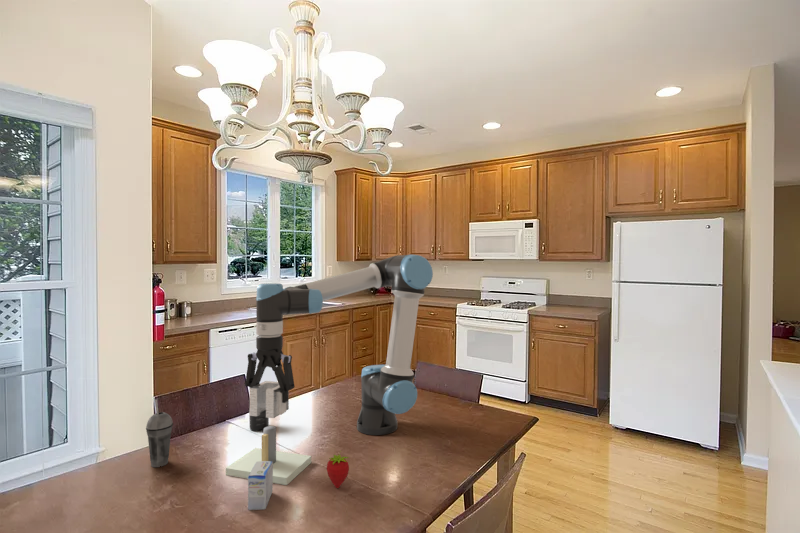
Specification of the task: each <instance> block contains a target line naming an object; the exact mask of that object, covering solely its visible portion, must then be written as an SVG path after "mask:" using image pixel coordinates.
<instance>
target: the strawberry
mask: <svg viewBox="0 0 800 533" xmlns="http://www.w3.org/2000/svg"><path fill="white" fill-rule="evenodd" d="M341 452H342V450H340V451H339V453H338V455H336V454H333V457H329V460H328V462H327V464H326V471H327V475H328V478H329V480H330V481H331V483H332V485H334V487H335V489H338V488H341V486H342V484H344V482H345V480H346V478H348V475H349V471H350V465H349V464H350V463H349V462H348V460H346V459H349V458H350V457H349V456H341V454H340V453H341Z"/></svg>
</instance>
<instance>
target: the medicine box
mask: <svg viewBox="0 0 800 533" xmlns="http://www.w3.org/2000/svg"><path fill="white" fill-rule="evenodd" d="M273 485H274V483H273V462H272V461H259V462H256V463H255V465H254V467H253V469H252V471H251V473H250V474H249V476H248V479H247V487H248V488H247V492H248V493H247V509H248V511H258V510H259V511H260V510H262V511H263V510H266V509H267V506H268V504H269V501H270V498H271V496H272V493H273Z"/></svg>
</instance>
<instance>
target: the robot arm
mask: <svg viewBox="0 0 800 533" xmlns="http://www.w3.org/2000/svg"><path fill="white" fill-rule="evenodd" d="M433 274H434V273H433V267H432V265H431V263H430V261H428V259H427V258H426V257H424V256H422V255H419V254H412V253H410V254H403V255H402V254H401V255H400V254H398V255H393V256H390V257H388V258H384V259H382V260H379V261H375V262H373V263H372V262H371V263H370V264H369V266H367V267H364V268H359V269H356V270H352V271H349V272H344V273H341V274H337V275H334V276H330V277H327V278H326V277H324V278H323V279H317V280H315V281H311V282H306V283H304V284H299V285H295V286H287V287H285V288H283V287H284V286H283V284H282V283H261V284H258V286H257V287H256V296H255V297H256V299H255V301H256V302H255V304H256V305H255V307H256V314H255V315H256V335H257V337H256V342H255V346H256V349H257V350H256V352H252V353H251V352H250V353H248V354H247V361H248V363H247V370H246V376H245V381H244V385H245V387H248V388H249V389H250V388H251V387H253V386H255V385H258V384H260V383H261V380H262V378H263V375H264V374H265V373H264V372H265V370H266V368H271V369H272V371H273V373H274V376H275V377H276V380H277V381H276V382H278V383H279V386H280V389H281V391H280V392H279V415H278V416H280V415H283V414H285V413H286V412H287V411H286V402H288V391H289V392H290V390H293V389H294V388H295V381H294V374H293V367H292V358H293V357H292V355H291V354H289V355H286V354H284V353H283V345H284V344H283V343H284V338H283V336H282V334H283V333H284V331H283V330H284V327H283V326H284V315H285V316H286V315H301V314H304V315H305V314H309V315H311V314H316V313H320V312H321V311H322V308H323V306H324V304H323V303H324V302H325V301H329V300H332V299H336V298H339V297H343V296H347V295H350V294H353V293H358V292H361V291H364V290H368V289H371V288H374V289H381V288H386V287H387V288H388V287H391V293H392V295H394V300H393V306H392V308H393V309H392V315H391V316H392V317H391V323H390V331H389V336H388V337H389V338H388V345H387V354H386V361H385V364H371V365H367V366H364V367H363V368H362V369H361V375H360V376H361V377H360V378H361V379H360V382H361V383H360V384H361V408H360V411H359V414H358V417H357V421H356V429H357V431H358V432H359V433H361V434H364V435H367V436H368V435H369V436H383V435H388V434H392V433H394V432H395V431H397V430H398V419H397V416H396V415H402V414H405V413H408V412H409V411H410V409H412V408H413V407H414V405H415V404H416V402H417V399H418V389H417V387H416V385H415V384H414V375H415V374H414V371H413V370H412V369H411V366H412V365H411V364H412V358H413V349H414V340H415V333H416V327H417V318H418V311H419V302H420V299H422V297H424V296H425V290H426V288H427V287H428V286H429V285H430V284H431V283H432V279H433ZM257 362H258V363H257ZM281 362H282V363H281Z"/></svg>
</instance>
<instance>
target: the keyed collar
mask: <svg viewBox="0 0 800 533" xmlns="http://www.w3.org/2000/svg"><path fill="white" fill-rule="evenodd" d="M280 391H281V389H280V386H279V383H278V381H271V380H264V381H262V382H260V383H259V384H258V385H255V386H253V387H251V388H250V387H249V407H250V416H259V415H260V412H262V411H264V410H266V418H269V419H275V418H276V417H278V416H280V415H279V392H280ZM289 394H290V390H289V391H288V402H286V412H287V411H288V410H289V409H290V408H289V406H290V405H289V404H290V401H289V400H290V399H289V396H290V395H289Z"/></svg>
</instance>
